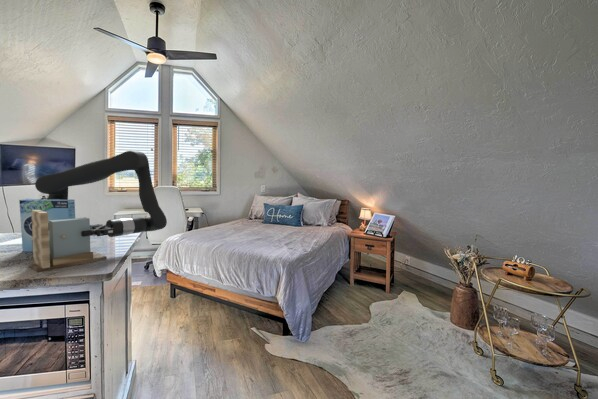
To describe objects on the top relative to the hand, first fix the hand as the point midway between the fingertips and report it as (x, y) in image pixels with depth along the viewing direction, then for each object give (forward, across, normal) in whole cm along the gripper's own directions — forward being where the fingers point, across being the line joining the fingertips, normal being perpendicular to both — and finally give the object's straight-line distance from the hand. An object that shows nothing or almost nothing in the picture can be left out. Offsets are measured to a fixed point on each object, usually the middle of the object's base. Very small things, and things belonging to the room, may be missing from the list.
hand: (77, 232), depth 120 cm
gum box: (+2, -26, +12) cm, 28 cm away
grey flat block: (+2, 0, +10) cm, 11 cm away
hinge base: (+3, 0, +12) cm, 12 cm away
